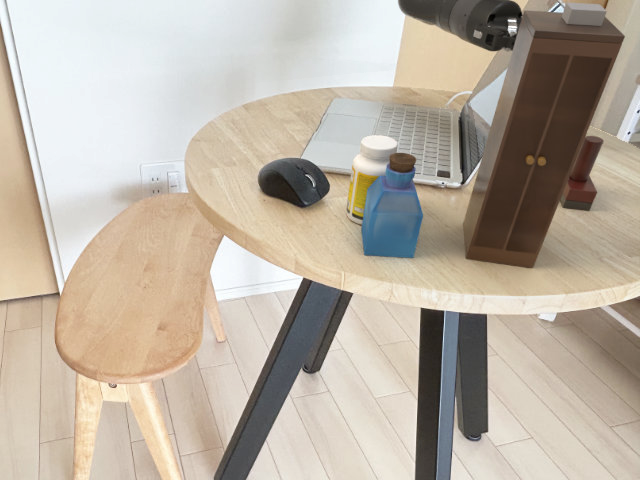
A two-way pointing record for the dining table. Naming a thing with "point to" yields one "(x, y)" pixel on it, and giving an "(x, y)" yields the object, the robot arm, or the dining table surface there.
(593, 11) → the small grey rectangular block
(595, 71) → the cupboard
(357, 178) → the pill bottle
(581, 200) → the stamp
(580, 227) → the dining table surface
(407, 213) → the perfume bottle
